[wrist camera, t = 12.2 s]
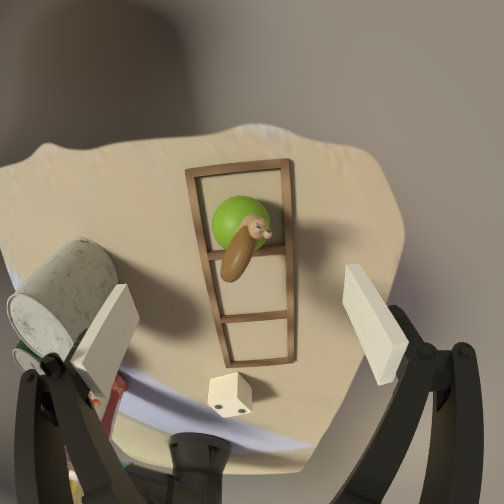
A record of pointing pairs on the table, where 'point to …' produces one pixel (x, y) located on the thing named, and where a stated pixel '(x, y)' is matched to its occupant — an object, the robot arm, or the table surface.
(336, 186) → the table surface
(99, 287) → the grey cylinder
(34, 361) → the canned tomato
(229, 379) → the die
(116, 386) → the liquor
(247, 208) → the snail figurine
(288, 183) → the wooden ladder frame
